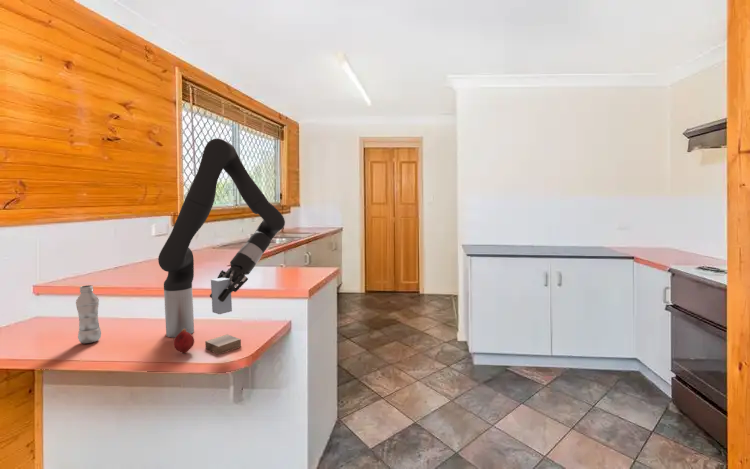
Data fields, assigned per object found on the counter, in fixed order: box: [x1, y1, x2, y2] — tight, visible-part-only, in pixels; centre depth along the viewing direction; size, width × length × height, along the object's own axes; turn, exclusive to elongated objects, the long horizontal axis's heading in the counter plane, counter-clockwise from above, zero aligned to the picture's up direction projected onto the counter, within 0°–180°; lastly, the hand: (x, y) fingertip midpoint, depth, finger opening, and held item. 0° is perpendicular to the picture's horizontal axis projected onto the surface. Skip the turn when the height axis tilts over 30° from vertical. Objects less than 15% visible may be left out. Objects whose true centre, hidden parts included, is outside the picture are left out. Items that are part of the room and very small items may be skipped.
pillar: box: [210, 278, 233, 315], centre depth 120 cm, size 4×4×11 cm
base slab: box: [204, 333, 242, 355], centre depth 121 cm, size 8×8×3 cm
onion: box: [173, 329, 195, 354], centre depth 116 cm, size 6×6×8 cm
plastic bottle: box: [75, 284, 102, 344], centre depth 126 cm, size 6×7×20 cm
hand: (216, 299), depth 118 cm, fingers closed on pillar, 4 cm apart
